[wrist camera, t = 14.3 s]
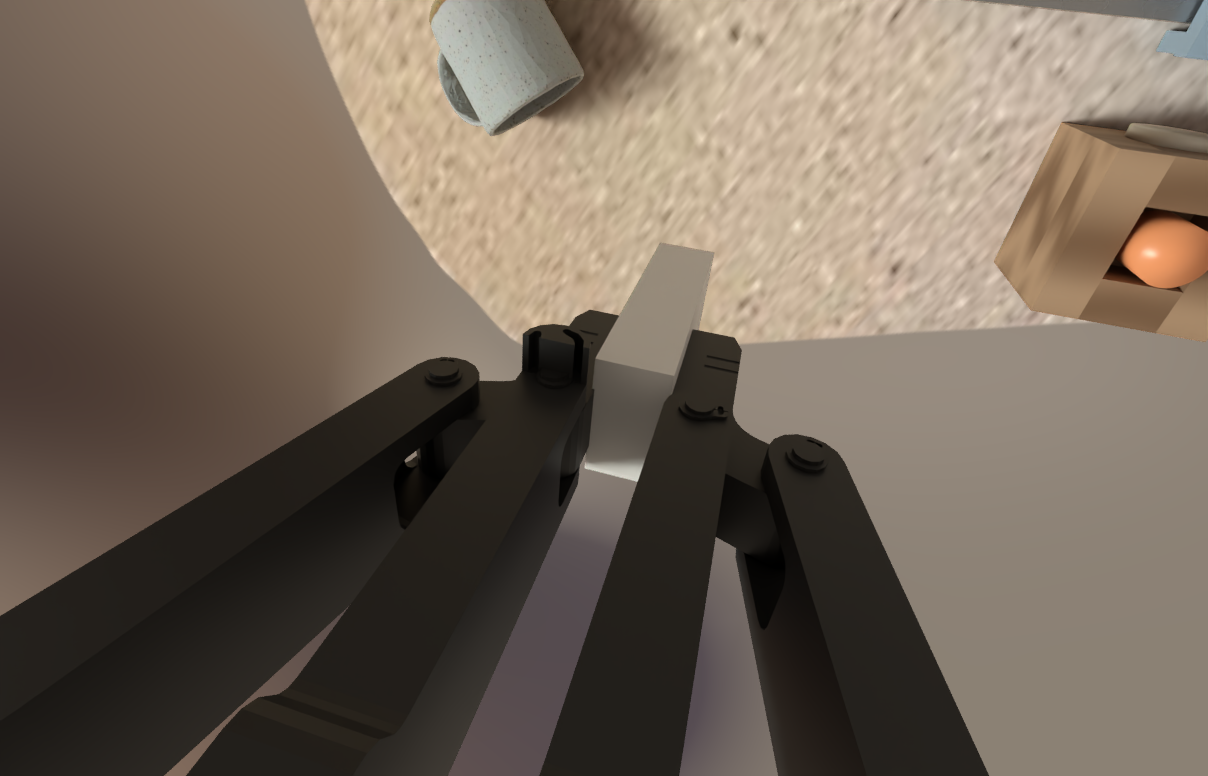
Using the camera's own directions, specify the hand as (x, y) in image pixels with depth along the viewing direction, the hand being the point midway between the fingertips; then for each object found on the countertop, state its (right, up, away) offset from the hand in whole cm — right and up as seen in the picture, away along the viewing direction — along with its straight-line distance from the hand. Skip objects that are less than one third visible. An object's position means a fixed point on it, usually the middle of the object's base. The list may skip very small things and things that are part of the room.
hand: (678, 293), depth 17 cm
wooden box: (+30, +9, +21) cm, 37 cm away
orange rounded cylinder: (+28, +6, +16) cm, 33 cm away
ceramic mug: (-8, +21, +26) cm, 34 cm away
